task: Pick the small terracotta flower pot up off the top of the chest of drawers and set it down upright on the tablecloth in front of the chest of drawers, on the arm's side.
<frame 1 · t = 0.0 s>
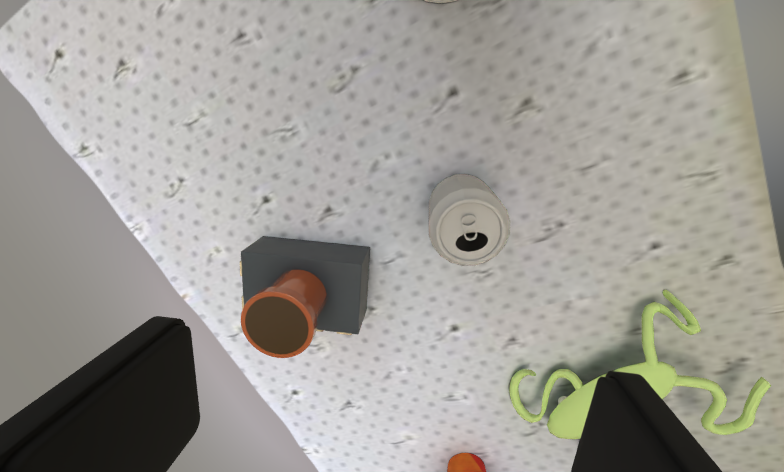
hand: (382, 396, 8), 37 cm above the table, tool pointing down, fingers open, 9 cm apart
chest of drawers: (315, 273, 49), on the table
figurine: (622, 375, 49), on the table
can: (460, 204, 44), on the table
terracotta pot: (300, 294, 43), point 6 cm above the table, touching chest of drawers
paper cup: (466, 465, 56), on the table
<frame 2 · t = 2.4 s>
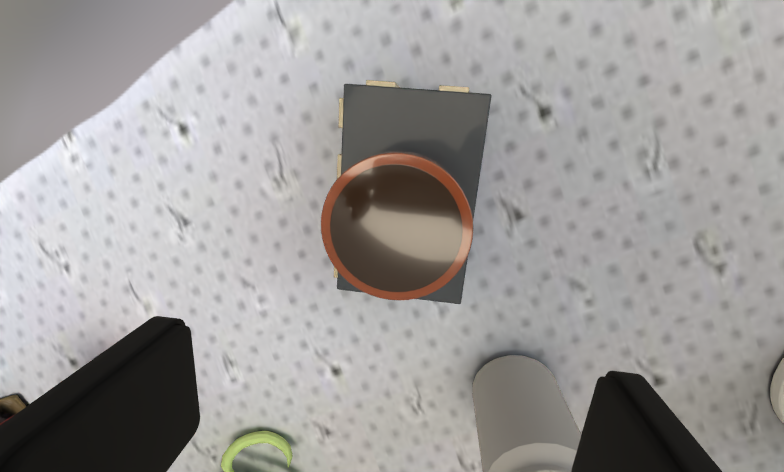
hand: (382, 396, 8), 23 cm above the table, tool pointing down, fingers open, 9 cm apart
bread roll: (12, 427, 44), on the table
chest of drawers: (412, 186, 30), on the table
can: (511, 382, 35), on the table
terracotta pot: (406, 201, 24), point 6 cm above the table, touching chest of drawers
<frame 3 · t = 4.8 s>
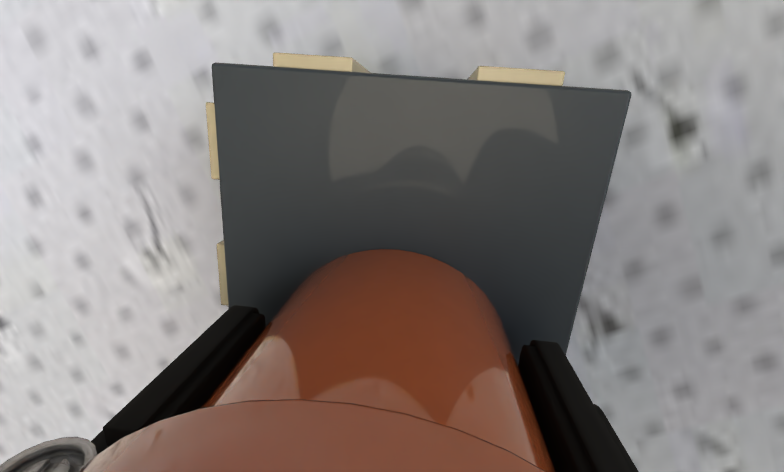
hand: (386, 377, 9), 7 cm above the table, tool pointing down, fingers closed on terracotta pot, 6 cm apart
chest of drawers: (404, 270, 16), on the table
terracotta pot: (389, 356, 10), point 6 cm above the table, touching chest of drawers, gripper
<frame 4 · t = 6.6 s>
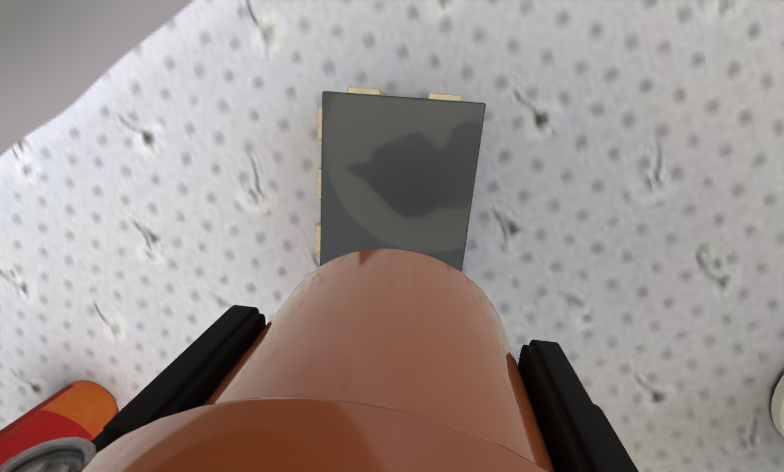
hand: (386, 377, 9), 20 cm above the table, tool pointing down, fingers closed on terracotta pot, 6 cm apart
chest of drawers: (399, 199, 28), on the table
terracotta pot: (389, 356, 10), point 19 cm above the table, touching gripper
paper cup: (93, 402, 37), on the table
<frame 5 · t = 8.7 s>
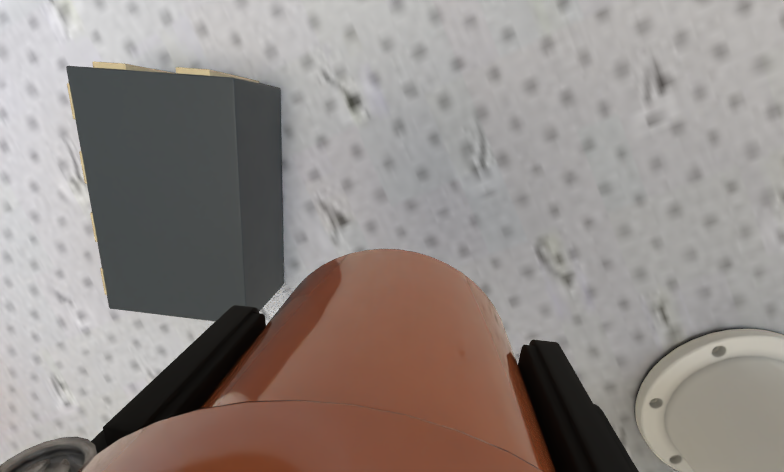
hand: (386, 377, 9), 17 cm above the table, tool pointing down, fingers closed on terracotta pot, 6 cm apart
chest of drawers: (221, 188, 26), on the table
terracotta pot: (389, 357, 10), point 16 cm above the table, touching gripper
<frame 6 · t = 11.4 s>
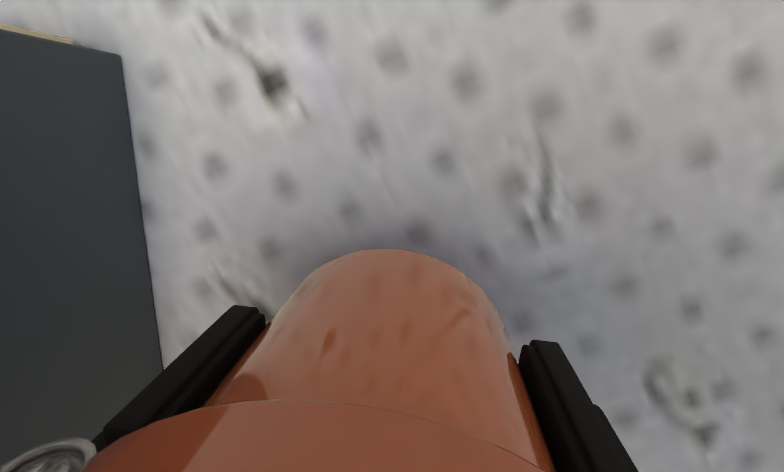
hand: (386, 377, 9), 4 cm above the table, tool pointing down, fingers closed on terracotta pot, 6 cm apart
chest of drawers: (36, 251, 14), on the table
terracotta pot: (389, 356, 10), point 3 cm above the table, touching gripper
when the fingers open (1 cm above the table, at t = 12.8 s): terracotta pot stays where it is, on the table.
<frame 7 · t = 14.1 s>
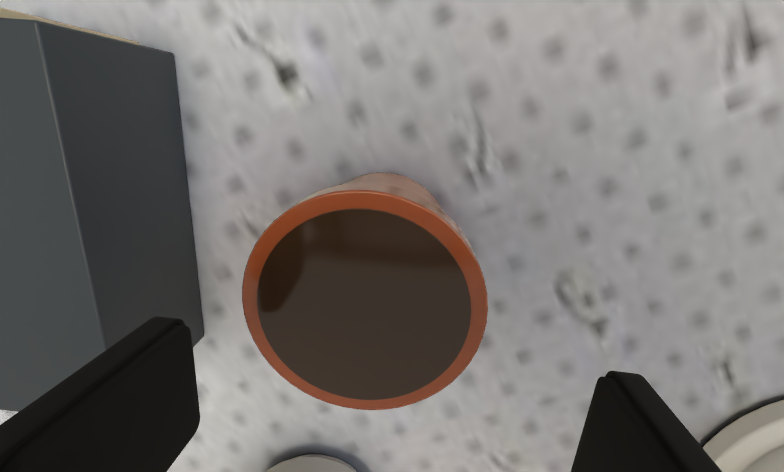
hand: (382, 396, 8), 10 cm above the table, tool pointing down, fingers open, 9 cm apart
chest of drawers: (101, 204, 18), on the table
terracotta pot: (383, 237, 18), on the table
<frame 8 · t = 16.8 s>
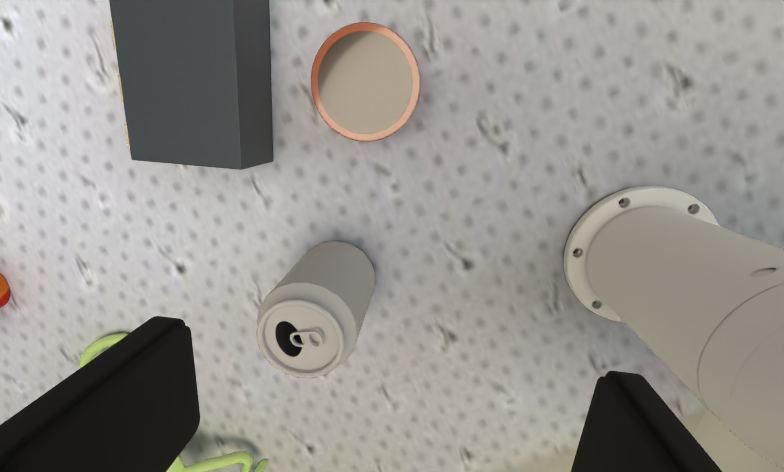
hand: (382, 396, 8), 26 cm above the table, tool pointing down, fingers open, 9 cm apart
chest of drawers: (221, 76, 32), on the table
figurine: (167, 433, 46), on the table
can: (339, 273, 37), on the table
terracotta pot: (378, 92, 31), on the table
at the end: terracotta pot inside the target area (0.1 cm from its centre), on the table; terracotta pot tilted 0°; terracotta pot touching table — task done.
